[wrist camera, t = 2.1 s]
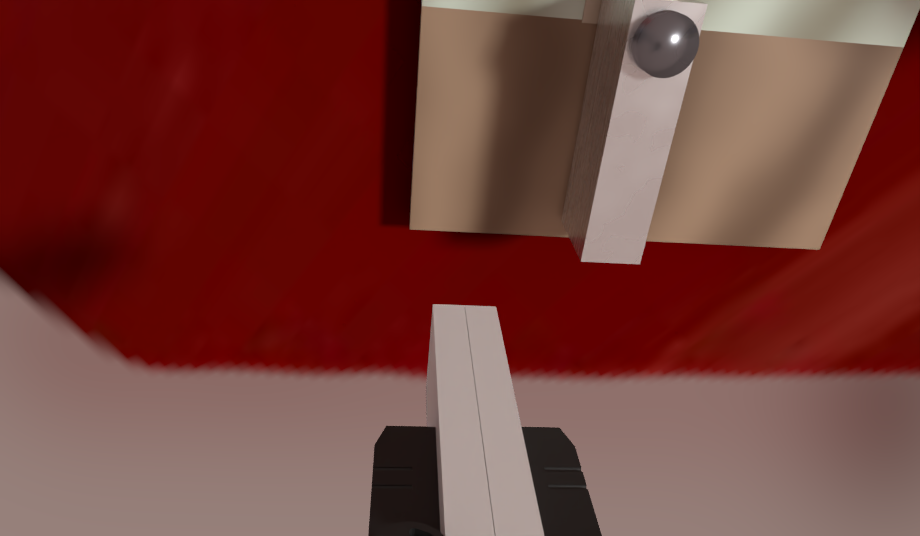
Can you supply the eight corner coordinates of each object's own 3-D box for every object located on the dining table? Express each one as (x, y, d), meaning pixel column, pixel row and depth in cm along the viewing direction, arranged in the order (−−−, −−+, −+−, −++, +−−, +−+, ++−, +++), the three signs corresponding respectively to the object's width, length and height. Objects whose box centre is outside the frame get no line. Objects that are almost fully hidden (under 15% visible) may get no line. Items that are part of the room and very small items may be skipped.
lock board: (409, 215, 32) (409, 271, 27) (438, -311, 22) (446, -371, 17) (803, 236, 34) (868, 290, 29) (990, -235, 24) (1134, -270, 19)
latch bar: (603, -16, 25) (641, -1, 21) (665, -10, 26) (715, 6, 21) (560, 219, 30) (583, 268, 26) (612, 221, 31) (644, 271, 27)
